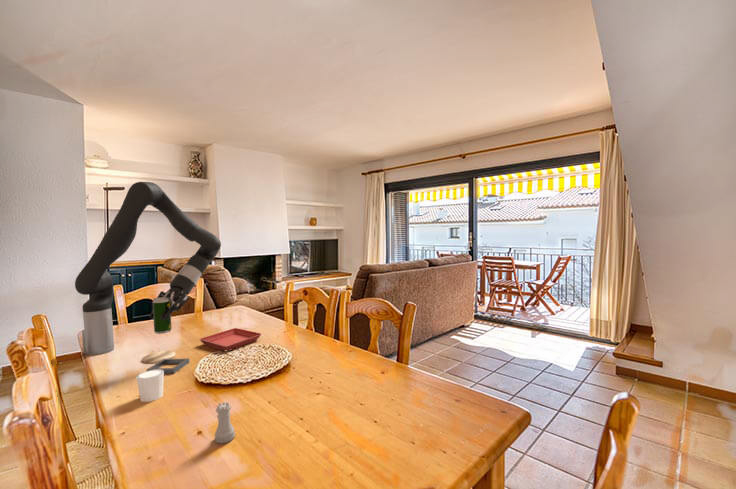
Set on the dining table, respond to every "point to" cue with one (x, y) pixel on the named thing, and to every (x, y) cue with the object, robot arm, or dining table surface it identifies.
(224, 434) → the rook chess piece
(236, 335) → the plant saucer
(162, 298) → the beer can
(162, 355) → the coaster
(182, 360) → the collar
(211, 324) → the dining table surface
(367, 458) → the dining table surface
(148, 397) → the white tapered cylinder
